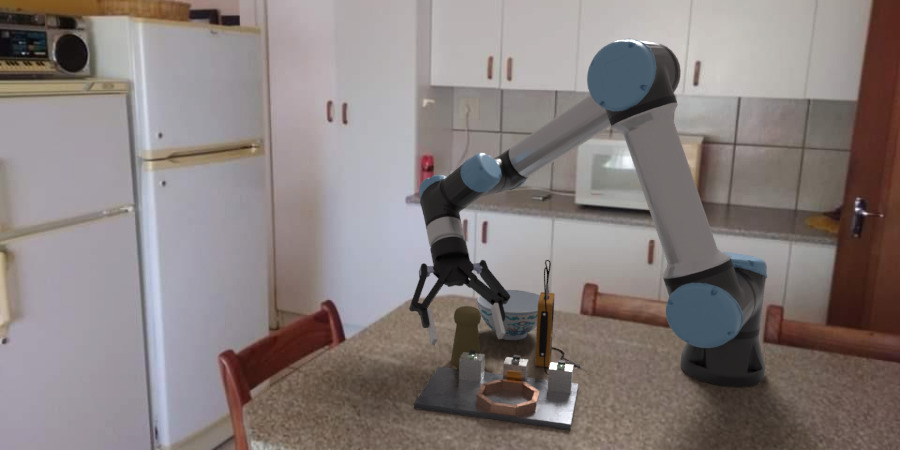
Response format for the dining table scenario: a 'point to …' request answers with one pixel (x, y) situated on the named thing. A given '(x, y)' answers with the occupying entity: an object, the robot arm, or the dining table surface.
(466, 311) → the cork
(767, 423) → the dining table surface
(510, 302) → the chinaware
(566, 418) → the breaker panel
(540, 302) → the multimeter
